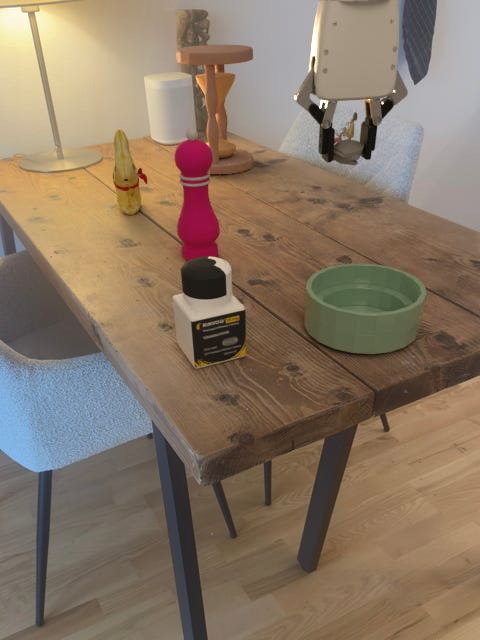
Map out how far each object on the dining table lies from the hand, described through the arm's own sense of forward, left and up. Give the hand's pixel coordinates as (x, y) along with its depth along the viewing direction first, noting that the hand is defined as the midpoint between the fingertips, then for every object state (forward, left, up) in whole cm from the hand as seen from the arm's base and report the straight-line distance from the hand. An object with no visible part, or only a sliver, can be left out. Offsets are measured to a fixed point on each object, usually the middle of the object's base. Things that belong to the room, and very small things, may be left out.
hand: (345, 156), depth 75 cm
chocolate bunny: (+30, -46, -19) cm, 58 cm away
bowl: (0, +12, -19) cm, 22 cm away
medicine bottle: (+21, +14, -19) cm, 31 cm away
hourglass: (+8, -75, -19) cm, 78 cm away
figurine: (0, 0, -1) cm, 1 cm away
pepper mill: (+19, -18, -19) cm, 32 cm away
